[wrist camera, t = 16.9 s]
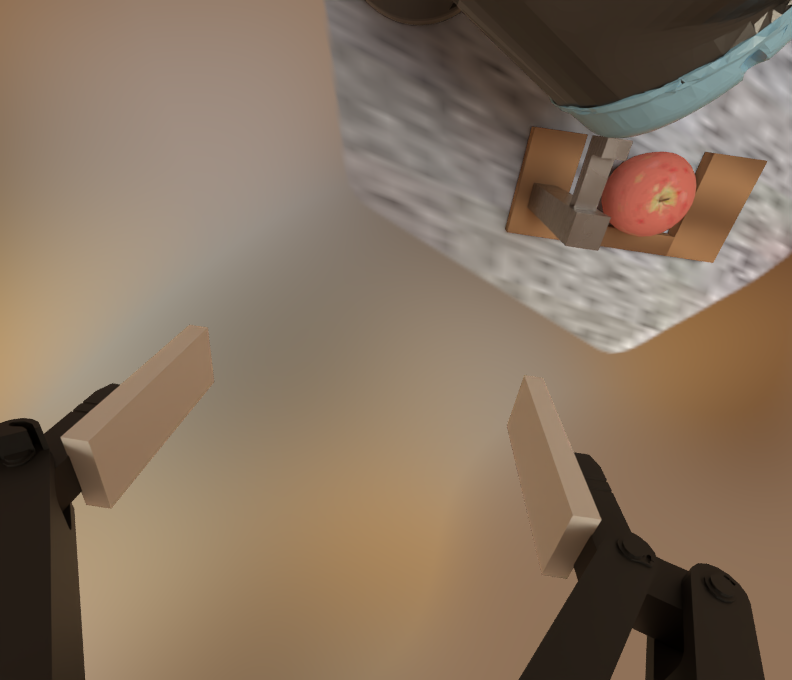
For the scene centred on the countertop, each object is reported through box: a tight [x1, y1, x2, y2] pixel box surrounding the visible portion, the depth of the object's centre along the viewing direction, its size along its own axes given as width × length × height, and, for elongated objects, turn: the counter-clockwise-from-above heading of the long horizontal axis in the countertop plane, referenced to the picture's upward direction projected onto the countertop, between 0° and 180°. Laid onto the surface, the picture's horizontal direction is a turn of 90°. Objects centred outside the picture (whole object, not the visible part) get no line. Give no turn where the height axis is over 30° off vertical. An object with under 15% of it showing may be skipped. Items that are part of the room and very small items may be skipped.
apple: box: [601, 152, 696, 237], centre depth 38 cm, size 7×7×8 cm
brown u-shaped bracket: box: [505, 127, 767, 263], centre depth 41 cm, size 10×22×2 cm, turn 83°
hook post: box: [527, 135, 633, 251], centre depth 34 cm, size 7×2×14 cm, turn 173°
